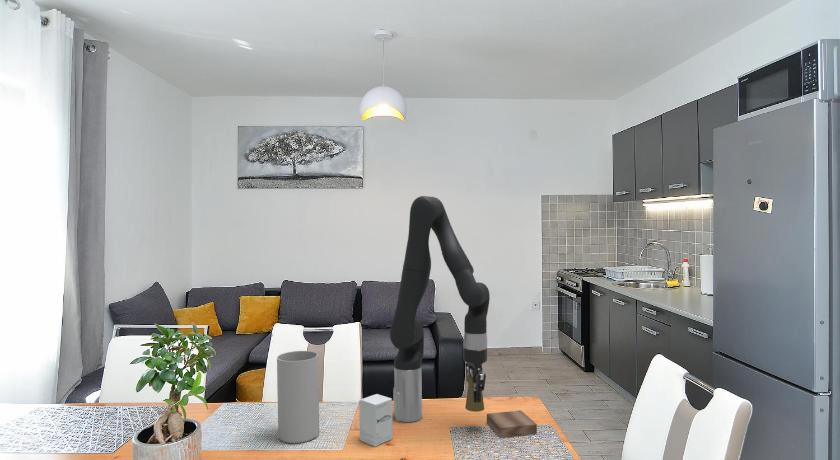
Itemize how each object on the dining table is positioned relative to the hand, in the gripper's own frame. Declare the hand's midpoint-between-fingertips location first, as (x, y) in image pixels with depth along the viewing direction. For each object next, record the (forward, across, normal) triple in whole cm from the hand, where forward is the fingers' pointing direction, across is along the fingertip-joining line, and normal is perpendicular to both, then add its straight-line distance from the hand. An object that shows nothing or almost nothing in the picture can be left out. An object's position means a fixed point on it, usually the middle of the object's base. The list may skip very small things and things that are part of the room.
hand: (474, 399), depth 162 cm
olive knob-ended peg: (+3, 0, 0) cm, 3 cm away
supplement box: (+10, 0, -32) cm, 33 cm away
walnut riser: (+9, +2, +11) cm, 15 cm away
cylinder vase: (+11, -9, -55) cm, 56 cm away
